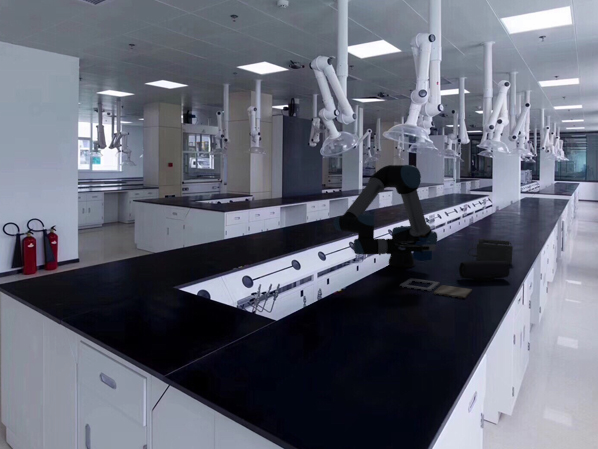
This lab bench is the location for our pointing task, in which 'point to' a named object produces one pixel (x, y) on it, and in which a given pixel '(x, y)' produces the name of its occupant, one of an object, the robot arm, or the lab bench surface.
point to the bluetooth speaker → (484, 270)
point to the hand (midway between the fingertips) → (432, 245)
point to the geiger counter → (493, 251)
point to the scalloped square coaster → (418, 286)
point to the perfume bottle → (424, 254)
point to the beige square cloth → (453, 291)
